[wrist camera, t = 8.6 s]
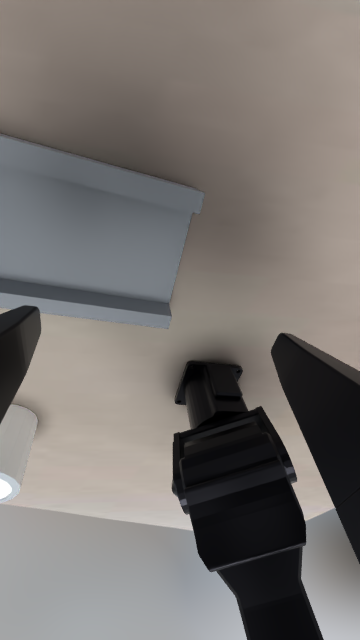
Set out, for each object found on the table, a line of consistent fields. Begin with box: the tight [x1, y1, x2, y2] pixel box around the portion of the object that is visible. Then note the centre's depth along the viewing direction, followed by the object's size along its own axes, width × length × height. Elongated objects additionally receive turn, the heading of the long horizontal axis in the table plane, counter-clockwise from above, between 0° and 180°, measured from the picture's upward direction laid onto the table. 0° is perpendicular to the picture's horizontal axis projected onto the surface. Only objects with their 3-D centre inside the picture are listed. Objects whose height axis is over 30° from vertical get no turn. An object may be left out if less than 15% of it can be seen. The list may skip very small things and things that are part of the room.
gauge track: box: [0, 133, 205, 329], centre depth 15 cm, size 10×23×5 cm, turn 75°
